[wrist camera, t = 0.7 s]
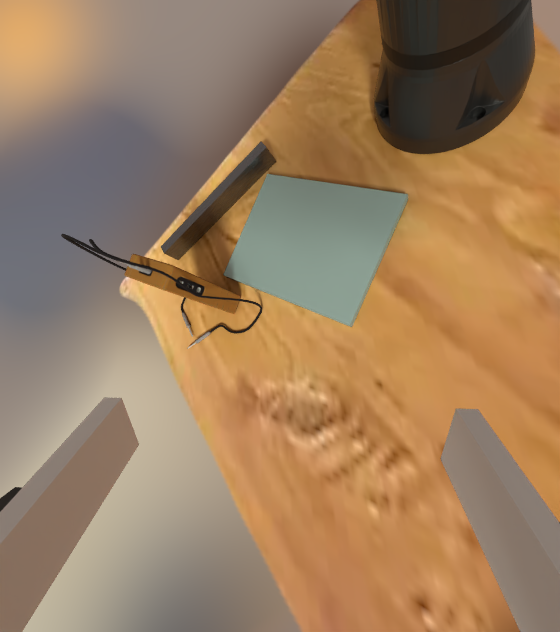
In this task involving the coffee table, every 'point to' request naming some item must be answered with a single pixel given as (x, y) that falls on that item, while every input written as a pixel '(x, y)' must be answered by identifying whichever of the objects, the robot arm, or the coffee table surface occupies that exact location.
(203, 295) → the corded orange upright block
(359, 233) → the plate
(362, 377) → the coffee table surface
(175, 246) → the guide rail
